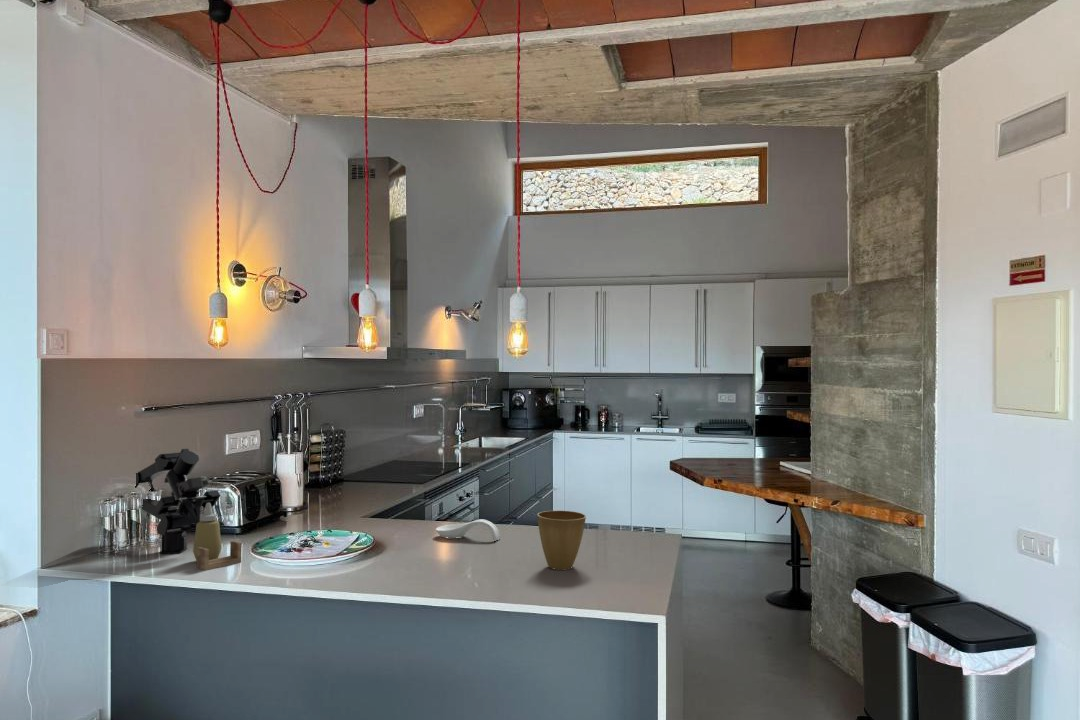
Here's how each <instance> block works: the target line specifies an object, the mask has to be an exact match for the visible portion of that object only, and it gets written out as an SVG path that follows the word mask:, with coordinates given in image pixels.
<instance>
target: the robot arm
mask: <svg viewBox="0 0 1080 720" xmlns="http://www.w3.org/2000/svg"><path fill="white" fill-rule="evenodd" d="M199 461H200V457H199V455H198V454H197V453H196V452H193V451H191V450H190V449H189V448H182V449H181V450H180V452H169V453H160V454H158V455H157V456H156V458H154V462H153V463H152V464H150V465H148V466H147V467H144V468H142V469H141V470H140V471H137V472H138V473H137V472H135V473H136V486H135V488H137V487H138V486H139V485H140V484H145V483H147V482H148V483H147V485H148V484H149V485H148V486H150V487H151V489H150V490H151V491H154V492H155V490H156V489H155V487H154V485H153V480H154V479H156V478H158V477H160V476H162V475H164V474H165V473H166V475H165V478H164V483H165V484H166V483H167V484H169V486H170V488H171V493H170V494H171V495H167V496H161V497H160V499H159V500H158V499H156V500H151V499H143V505H142V506H143V507H142V509H141V510H142V511H144V512H145V513H147V514H149V515H151V516H153V517H155V518H157V519H158V520H160V521H159V523H158V524H157V526H156V533H157V534H158V535H161V550H159V554H181V553H182V552H185V550H187V549H188V535H186V533H187V532H191V528H192V523H194V524H195V525H196V524H197V523H198V522H200V515H201V507H203V508H204V509H205V506H206V503H210V504H211V508H212V507H214V506H215V505H216V504H217V502H218V501H219V499H220V497H221V493H220V492H219V489H218V490H217V489H213V490H207V491H205V492H204V494H203V495H199V494H200V489H203V488H205V487H206V486H208V485H209V481H208V478H207V476H206V475H201V476H199V477H195V478H194V477H191V478H189V476H188V475H190V474H192V472H193V470H194V469H195V467H196V466H197V464H198V462H199ZM150 490H149V491H150Z"/></svg>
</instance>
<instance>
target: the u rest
mask: <svg viewBox="0 0 1080 720" xmlns="http://www.w3.org/2000/svg"><path fill="white" fill-rule="evenodd" d="M229 543H230V547H229V551H230V552H229V553H230V554H229V555H227V556H222V557H218V558H217V559H213V560H209V549H206V548H203V547H198V556H197V561H196V563H197V564H196V566H197V567H196V568H197V569H200V570H203V571H208V570H212V569H217V567H218V568H221V567H226V565H227V566H231V565H235V563H236V564H240V563H242V547H243V546H242V545H243V544H242V542H241V541H240V542H239V541H236V540H230V542H229ZM239 562H240V563H239Z"/></svg>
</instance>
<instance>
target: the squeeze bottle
mask: <svg viewBox="0 0 1080 720" xmlns="http://www.w3.org/2000/svg"><path fill="white" fill-rule="evenodd" d="M195 525H196V526H195V534H194V542H193V549H192V552H193V557H194V559H195V561H196V562H197V556H198V547H203V548H206V549H209V560H213V559H217V558H220V557H219V556H220V554H221V550H222V540H221V538H222V537H221V526H220V522H219V521H218V520H217V514H216V513H213V509H212V507H211V504H210V503H206V506H205V508H204V511H203V514H200V522H198V523H197V524H195Z"/></svg>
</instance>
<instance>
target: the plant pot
mask: <svg viewBox="0 0 1080 720" xmlns="http://www.w3.org/2000/svg"><path fill="white" fill-rule="evenodd" d="M536 515H537V523H538V524H537V525H538V529H539V537H540V542H541V547H542V551H543V554H544V558H545V561H546V564H547V566H549V567H551V568H555V569H554V570H556V569H567V570H569V569H568V568H571V567H572V568H573V566H574V563H575V561H576V558H577V556H578V553H579V549H580V545H581V543H582V539H583V534H584V530H585V523H586V518H587V515H586V514H584V513H582V512H578V511H572V510H571V511H570V510H547V511H541V512H538V513H537V514H536ZM549 567H548V568H549ZM551 568H550V569H551ZM572 568H571V569H572Z"/></svg>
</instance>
